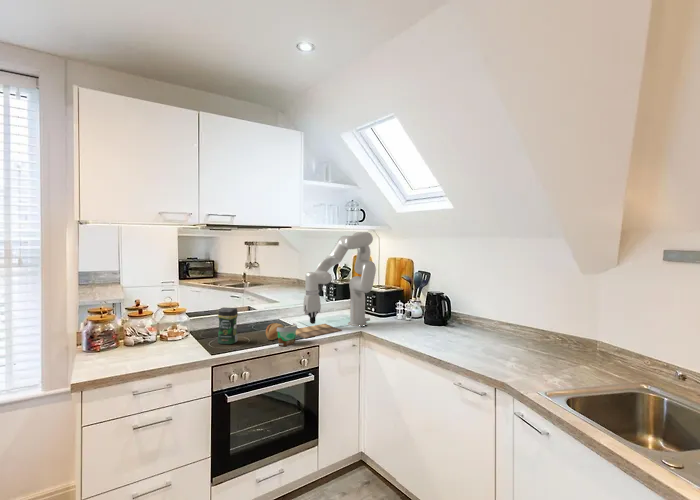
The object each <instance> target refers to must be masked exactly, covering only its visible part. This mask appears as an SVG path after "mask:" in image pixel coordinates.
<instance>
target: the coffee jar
mask: <svg viewBox="0 0 700 500" xmlns="http://www.w3.org/2000/svg"><path fill="white" fill-rule="evenodd" d="M217 311H218V313H217V318H218V322H219V323H218V324H219V325H218V334H217V343H218V344H219V345H220V344H222V345H232V344H235V343H237V342H238V329H237V321H238V316H239V314H238V308H236V307H220V308H219V309H218V310H217Z"/></svg>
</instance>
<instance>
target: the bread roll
mask: <svg viewBox="0 0 700 500" xmlns="http://www.w3.org/2000/svg"><path fill="white" fill-rule="evenodd" d="M277 327H280V328H283V327H285V326H284V325H283V324H281V323H276V322H272V323H270V324H269V325H267V326H266V329H265V336H266V339H267V340H269V341H273V340H278V331H277Z"/></svg>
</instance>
